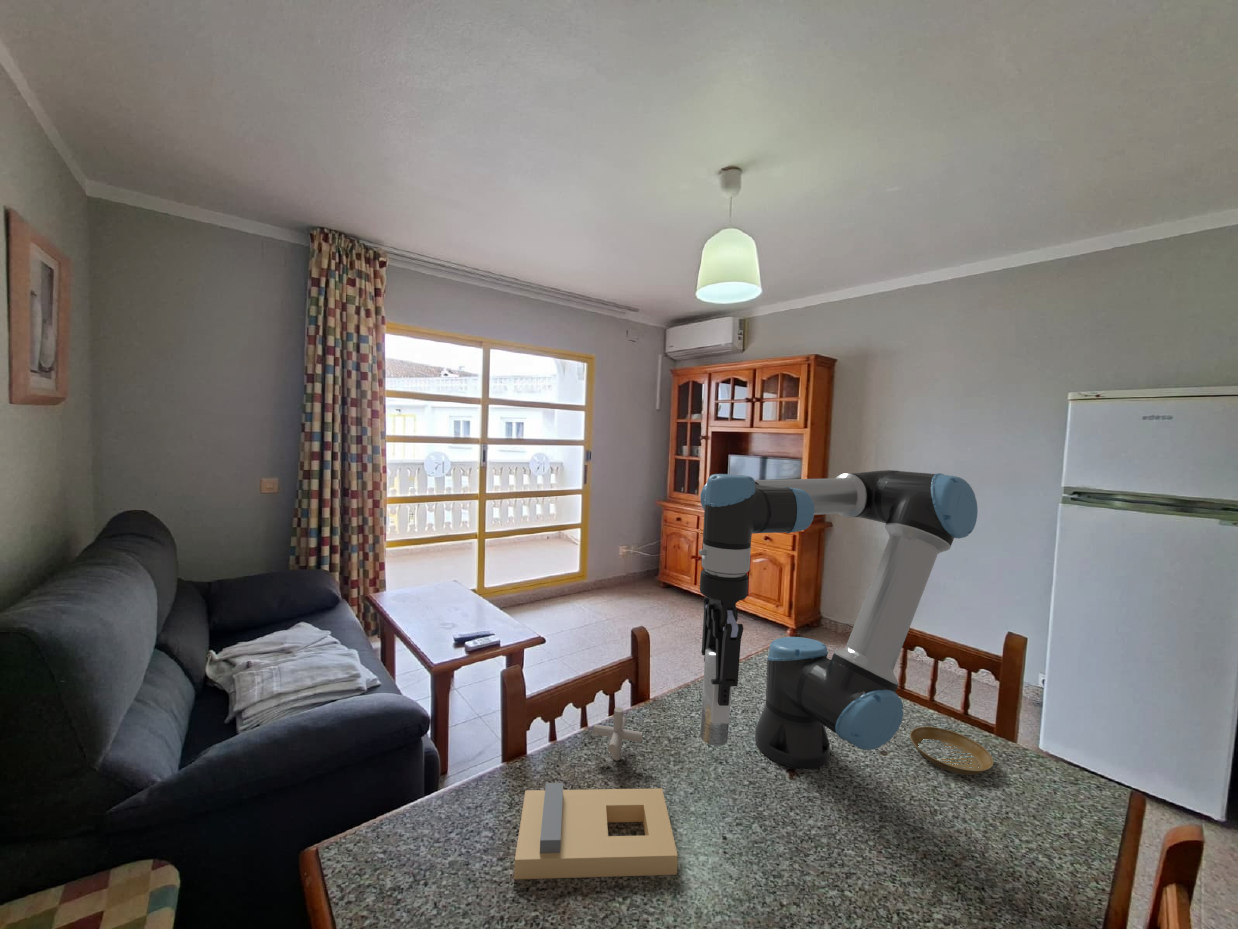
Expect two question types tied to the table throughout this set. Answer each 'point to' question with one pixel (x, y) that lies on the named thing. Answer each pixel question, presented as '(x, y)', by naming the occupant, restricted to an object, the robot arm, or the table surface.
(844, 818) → the table surface
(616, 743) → the pipe connector
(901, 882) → the table surface
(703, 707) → the grey metal cylinder
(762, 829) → the table surface
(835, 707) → the robot arm
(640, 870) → the jig
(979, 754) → the plant saucer
